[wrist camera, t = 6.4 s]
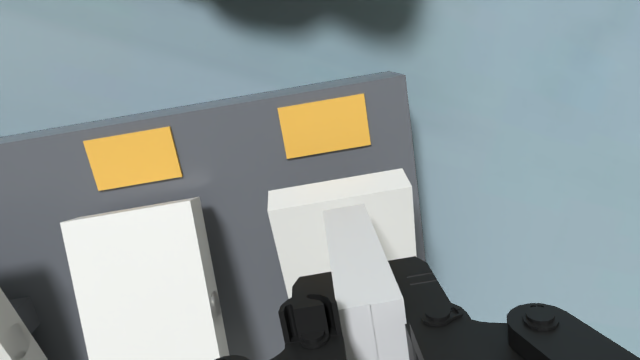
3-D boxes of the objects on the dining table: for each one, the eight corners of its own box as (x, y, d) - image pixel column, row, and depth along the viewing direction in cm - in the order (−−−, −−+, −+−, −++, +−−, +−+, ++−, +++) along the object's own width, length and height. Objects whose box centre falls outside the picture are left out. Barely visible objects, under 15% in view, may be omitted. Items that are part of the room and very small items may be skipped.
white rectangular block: (268, 190, 19) (267, 213, 17) (402, 168, 19) (413, 188, 17) (307, 357, 24) (309, 387, 22) (414, 339, 24) (424, 368, 22)
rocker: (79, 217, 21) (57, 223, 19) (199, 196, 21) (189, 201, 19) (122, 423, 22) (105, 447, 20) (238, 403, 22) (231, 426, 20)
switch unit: (-86, 151, 25) (-190, 179, 20) (388, 71, 25) (413, 76, 19) (21, 406, 30) (-39, 484, 24) (420, 339, 29) (447, 403, 24)
